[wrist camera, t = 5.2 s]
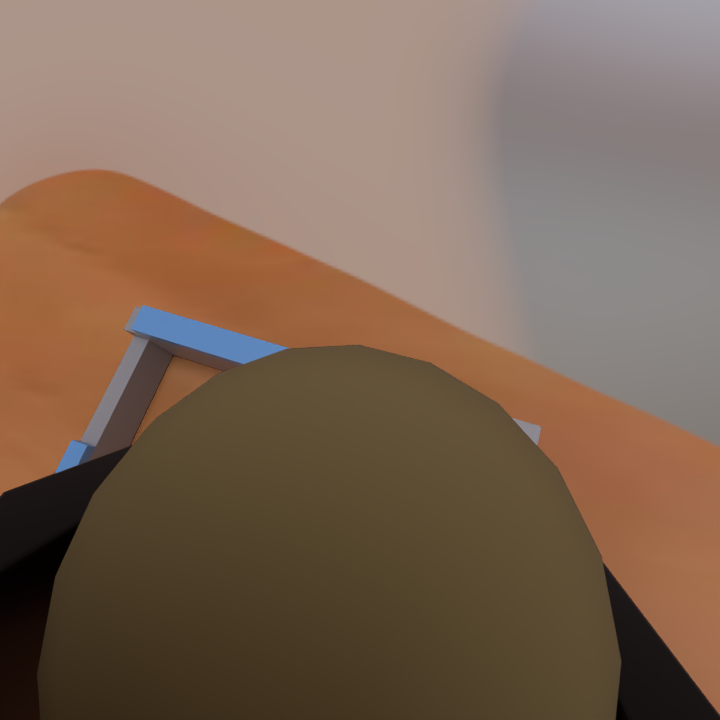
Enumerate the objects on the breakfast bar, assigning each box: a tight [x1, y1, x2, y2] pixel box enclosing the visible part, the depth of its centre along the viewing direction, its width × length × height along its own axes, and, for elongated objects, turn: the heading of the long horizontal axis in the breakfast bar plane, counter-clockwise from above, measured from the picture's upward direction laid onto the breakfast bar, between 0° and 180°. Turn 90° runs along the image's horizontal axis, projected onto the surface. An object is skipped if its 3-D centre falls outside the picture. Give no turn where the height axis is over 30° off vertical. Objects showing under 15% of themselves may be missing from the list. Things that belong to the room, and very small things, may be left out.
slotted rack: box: [55, 305, 541, 473], centre depth 18 cm, size 18×8×4 cm, turn 71°
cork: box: [37, 345, 621, 720], centre depth 8 cm, size 6×6×11 cm
